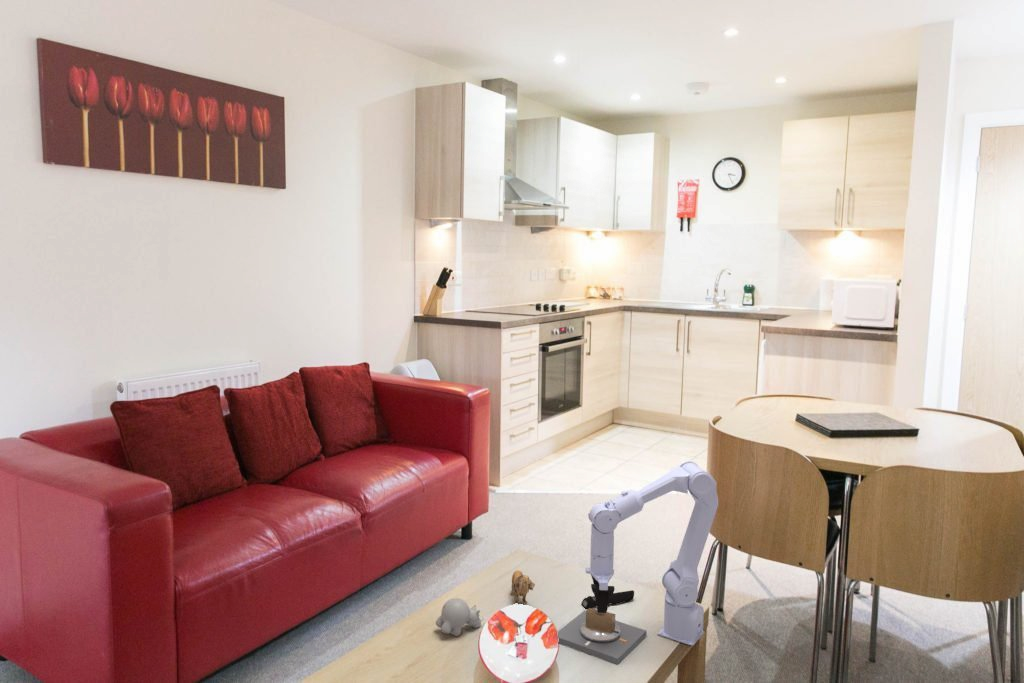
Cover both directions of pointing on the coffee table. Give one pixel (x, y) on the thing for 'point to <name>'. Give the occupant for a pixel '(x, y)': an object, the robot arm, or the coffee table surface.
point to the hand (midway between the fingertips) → (601, 604)
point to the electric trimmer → (614, 600)
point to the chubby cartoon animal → (457, 616)
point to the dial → (600, 626)
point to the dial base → (603, 650)
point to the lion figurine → (521, 586)
